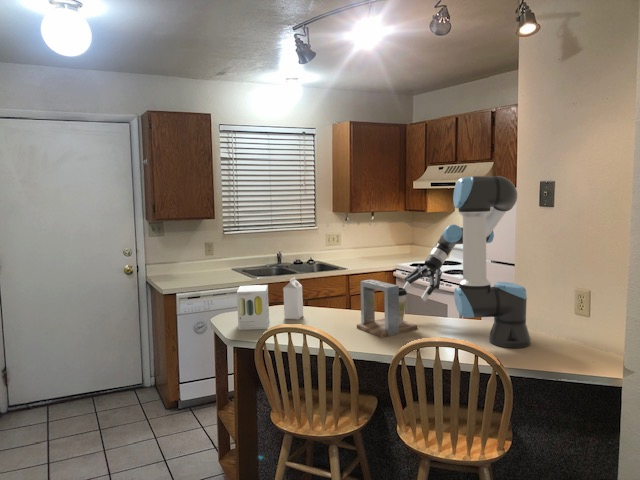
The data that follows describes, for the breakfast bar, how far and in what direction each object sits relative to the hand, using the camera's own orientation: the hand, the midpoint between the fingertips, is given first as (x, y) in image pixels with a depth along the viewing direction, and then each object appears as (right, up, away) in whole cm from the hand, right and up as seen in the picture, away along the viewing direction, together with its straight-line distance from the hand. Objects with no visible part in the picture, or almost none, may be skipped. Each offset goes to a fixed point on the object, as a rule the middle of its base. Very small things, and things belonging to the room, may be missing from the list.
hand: (412, 297), depth 228 cm
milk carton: (-54, -12, +15) cm, 57 cm away
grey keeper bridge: (-16, -13, -9) cm, 22 cm away
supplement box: (-72, -14, +4) cm, 73 cm away
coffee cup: (-8, -11, -4) cm, 14 cm away
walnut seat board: (-12, -13, -7) cm, 19 cm away
